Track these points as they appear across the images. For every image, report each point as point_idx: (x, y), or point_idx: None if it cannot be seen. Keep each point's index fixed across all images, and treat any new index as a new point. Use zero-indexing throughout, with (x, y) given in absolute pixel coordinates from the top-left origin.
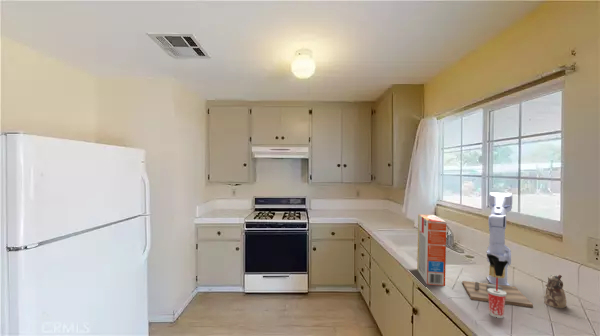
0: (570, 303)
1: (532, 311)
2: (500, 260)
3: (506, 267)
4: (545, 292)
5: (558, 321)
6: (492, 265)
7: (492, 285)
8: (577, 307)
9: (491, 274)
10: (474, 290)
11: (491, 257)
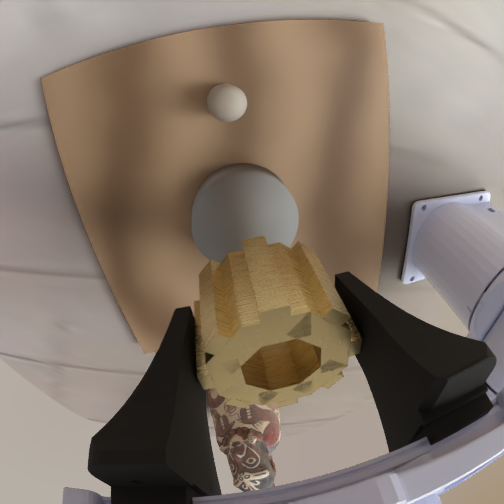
0: None
1: (95, 336)
2: (69, 497)
3: (468, 329)
4: (256, 408)
5: (70, 379)
6: (320, 332)
7: (274, 214)
8: None
9: (229, 265)
10: (183, 82)
11: (410, 391)
